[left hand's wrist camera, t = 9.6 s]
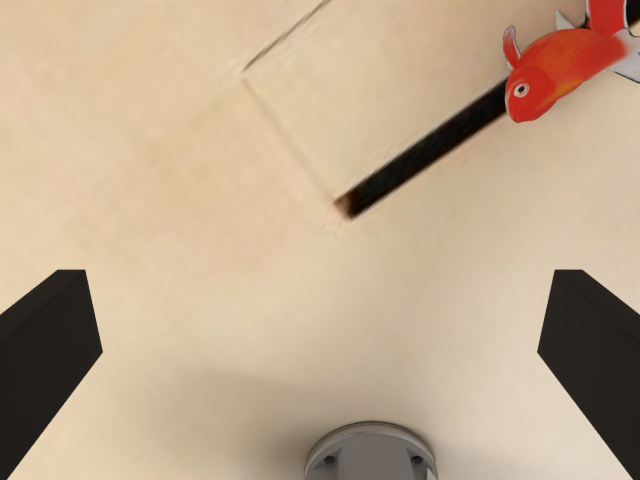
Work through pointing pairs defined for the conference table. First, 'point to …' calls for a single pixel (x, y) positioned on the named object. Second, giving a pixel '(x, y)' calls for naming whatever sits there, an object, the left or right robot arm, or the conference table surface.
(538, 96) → the fish
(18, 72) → the conference table surface
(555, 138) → the conference table surface
